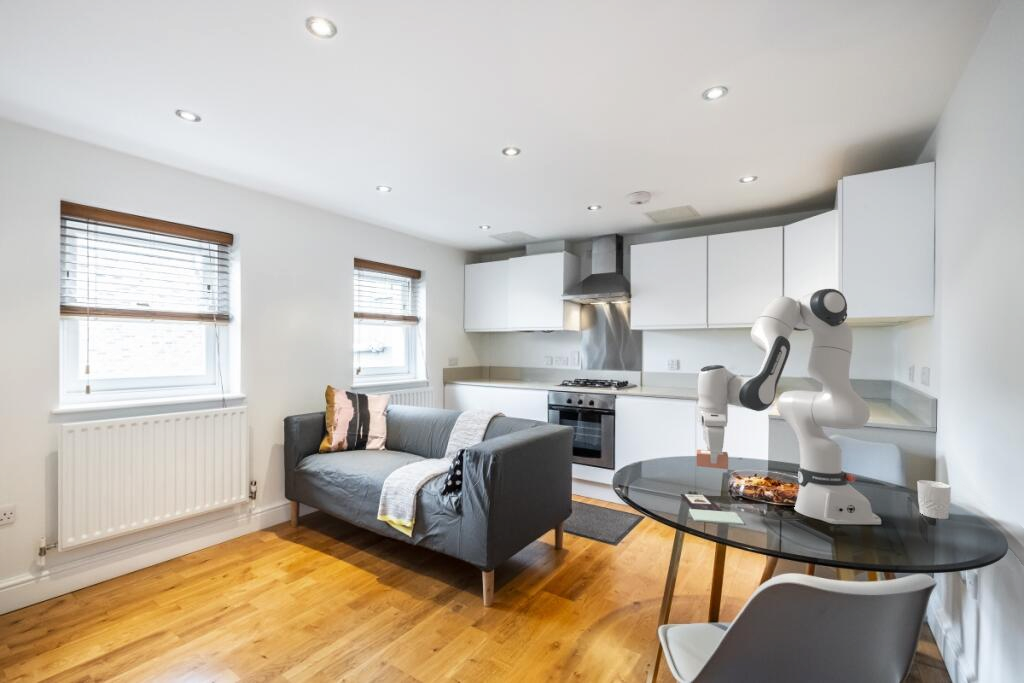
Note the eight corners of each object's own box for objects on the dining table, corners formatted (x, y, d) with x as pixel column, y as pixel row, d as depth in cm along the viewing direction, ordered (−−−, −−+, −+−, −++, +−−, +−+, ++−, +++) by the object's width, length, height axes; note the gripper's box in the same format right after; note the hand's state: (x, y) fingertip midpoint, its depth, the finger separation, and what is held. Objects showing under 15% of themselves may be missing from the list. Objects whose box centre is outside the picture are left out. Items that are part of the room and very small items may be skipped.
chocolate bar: (696, 512, 144) (680, 494, 162) (696, 515, 144) (680, 496, 162) (725, 514, 143) (706, 495, 161) (725, 517, 143) (706, 497, 161)
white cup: (944, 513, 147) (944, 482, 147) (955, 521, 139) (955, 489, 140) (913, 509, 150) (913, 479, 150) (922, 517, 143) (922, 485, 143)
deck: (696, 466, 143) (696, 453, 143) (696, 461, 149) (696, 449, 149) (728, 469, 140) (728, 456, 140) (727, 464, 145) (727, 451, 145)
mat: (735, 513, 145) (735, 512, 145) (744, 524, 136) (744, 523, 136) (689, 510, 148) (689, 508, 148) (694, 520, 139) (694, 519, 139)
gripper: (698, 411, 155) (698, 451, 155) (704, 420, 136) (704, 467, 135) (719, 412, 153) (718, 453, 153) (727, 422, 134) (727, 469, 134)
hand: (712, 460), depth 144 cm, fingers closed on deck, 6 cm apart
